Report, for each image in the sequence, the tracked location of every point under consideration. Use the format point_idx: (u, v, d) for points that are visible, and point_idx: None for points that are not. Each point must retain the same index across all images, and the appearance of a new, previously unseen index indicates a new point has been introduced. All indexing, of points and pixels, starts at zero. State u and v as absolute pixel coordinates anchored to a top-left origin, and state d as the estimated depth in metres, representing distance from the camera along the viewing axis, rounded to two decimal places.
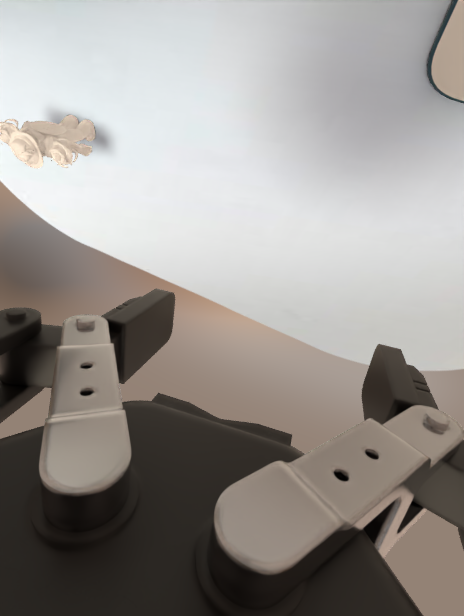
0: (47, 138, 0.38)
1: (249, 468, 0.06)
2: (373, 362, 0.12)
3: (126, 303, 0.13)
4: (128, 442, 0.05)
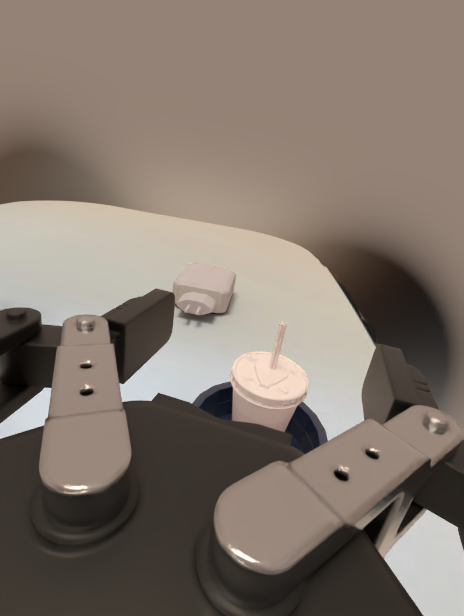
0: None
1: (249, 468, 0.06)
2: (373, 362, 0.12)
3: (126, 303, 0.13)
4: (128, 442, 0.05)
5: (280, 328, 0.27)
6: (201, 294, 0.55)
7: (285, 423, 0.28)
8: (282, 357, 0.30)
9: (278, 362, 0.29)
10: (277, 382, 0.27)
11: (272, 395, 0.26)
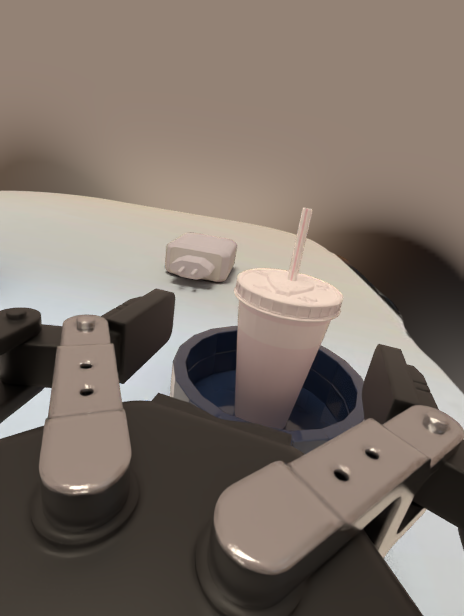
0: None
1: (249, 468, 0.06)
2: (373, 362, 0.12)
3: (126, 303, 0.13)
4: (128, 442, 0.05)
5: (303, 215, 0.19)
6: (198, 257, 0.48)
7: (311, 353, 0.20)
8: (303, 275, 0.23)
9: (299, 276, 0.22)
10: (300, 291, 0.19)
11: (295, 301, 0.18)
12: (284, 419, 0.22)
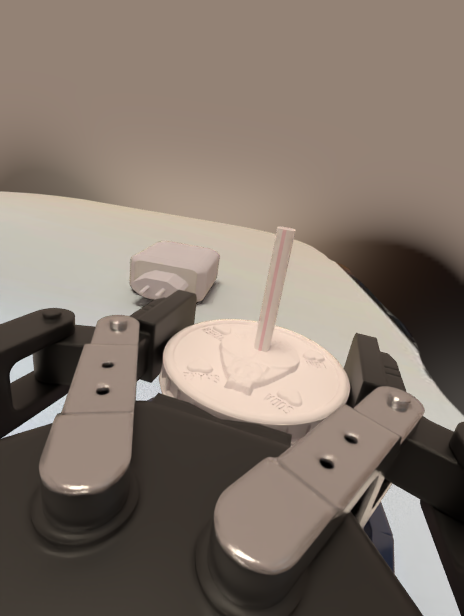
0: None
1: (249, 468, 0.06)
2: (351, 350, 0.13)
3: (151, 304, 0.13)
4: (129, 446, 0.05)
5: (278, 241, 0.11)
6: (167, 273, 0.39)
7: None
8: (284, 331, 0.14)
9: (275, 338, 0.13)
10: (273, 379, 0.11)
11: (259, 411, 0.09)
12: None
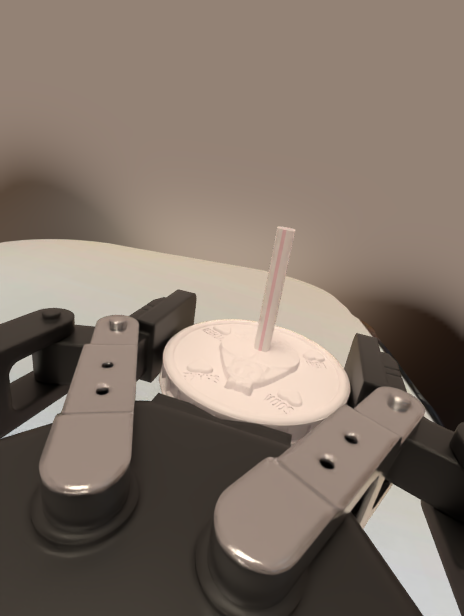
0: None
1: (249, 468, 0.06)
2: (351, 350, 0.13)
3: (150, 304, 0.13)
4: (129, 446, 0.05)
5: (278, 241, 0.11)
6: None
7: None
8: (284, 331, 0.14)
9: (276, 338, 0.13)
10: (273, 379, 0.11)
11: (259, 411, 0.09)
12: None
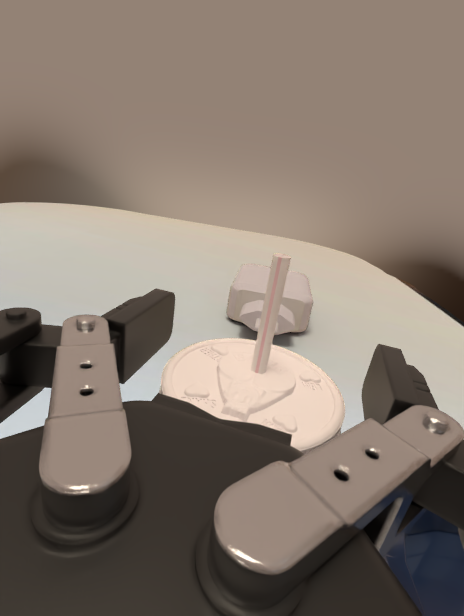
0: None
1: (249, 468, 0.06)
2: (373, 362, 0.12)
3: (126, 303, 0.13)
4: (128, 442, 0.05)
5: (274, 268, 0.11)
6: None
7: None
8: (281, 350, 0.14)
9: (272, 359, 0.13)
10: (269, 404, 0.11)
11: None
12: None
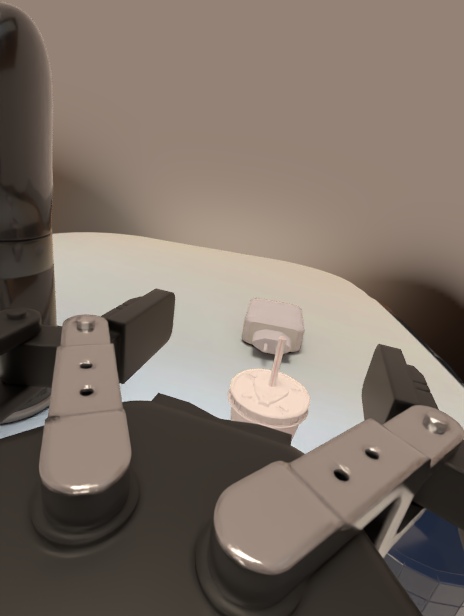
0: None
1: (249, 468, 0.06)
2: (373, 362, 0.12)
3: (126, 303, 0.13)
4: (128, 442, 0.05)
5: (279, 343, 0.26)
6: (276, 332, 0.52)
7: None
8: (282, 374, 0.29)
9: (278, 379, 0.28)
10: (277, 400, 0.26)
11: (272, 413, 0.24)
12: None
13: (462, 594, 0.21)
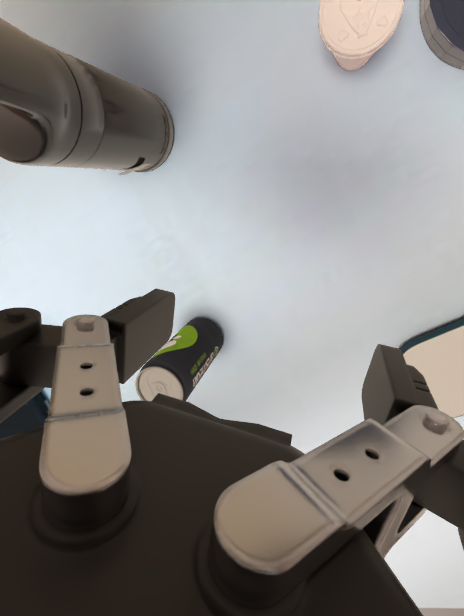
0: None
1: (249, 468, 0.06)
2: (373, 362, 0.12)
3: (126, 303, 0.13)
4: (128, 442, 0.05)
5: None
6: None
7: None
8: None
9: None
10: (373, 16, 0.27)
11: (374, 41, 0.27)
12: None
13: None
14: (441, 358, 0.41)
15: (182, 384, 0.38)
